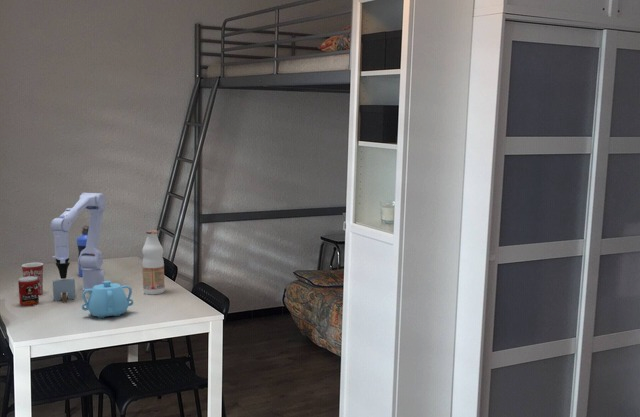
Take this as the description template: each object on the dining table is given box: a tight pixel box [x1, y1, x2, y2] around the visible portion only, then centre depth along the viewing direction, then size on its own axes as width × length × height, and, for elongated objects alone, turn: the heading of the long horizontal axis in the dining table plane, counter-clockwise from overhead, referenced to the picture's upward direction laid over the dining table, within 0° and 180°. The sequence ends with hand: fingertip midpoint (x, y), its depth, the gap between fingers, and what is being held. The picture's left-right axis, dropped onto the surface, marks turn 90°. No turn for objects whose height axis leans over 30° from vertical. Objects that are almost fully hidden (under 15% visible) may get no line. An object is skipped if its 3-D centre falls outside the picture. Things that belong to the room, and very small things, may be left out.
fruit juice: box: [141, 229, 166, 296], centre depth 323 cm, size 9×9×28 cm
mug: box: [21, 262, 44, 296], centre depth 323 cm, size 13×9×14 cm
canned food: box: [17, 276, 40, 307], centre depth 306 cm, size 8×8×11 cm
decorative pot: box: [81, 280, 134, 319], centre depth 288 cm, size 16×16×14 cm
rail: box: [61, 292, 68, 303], centre depth 313 cm, size 2×12×3 cm, turn 20°
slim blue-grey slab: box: [52, 278, 77, 302], centre depth 313 cm, size 9×2×8 cm, turn 110°
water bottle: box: [76, 225, 89, 278], centre depth 358 cm, size 9×9×25 cm
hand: (63, 276), depth 313 cm, fingers open, 7 cm apart
